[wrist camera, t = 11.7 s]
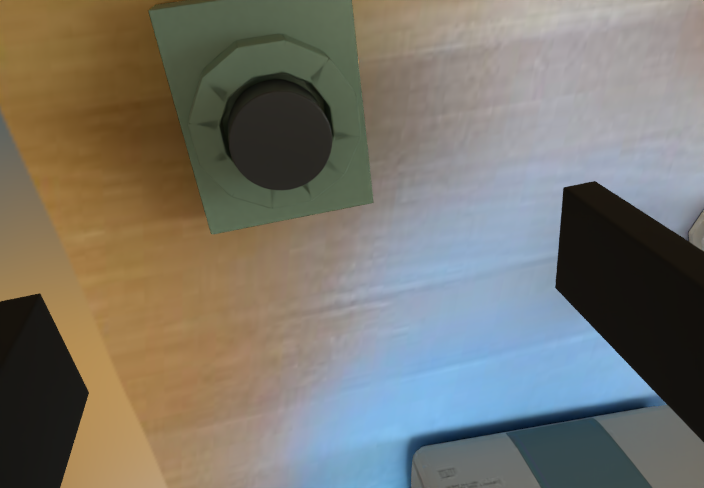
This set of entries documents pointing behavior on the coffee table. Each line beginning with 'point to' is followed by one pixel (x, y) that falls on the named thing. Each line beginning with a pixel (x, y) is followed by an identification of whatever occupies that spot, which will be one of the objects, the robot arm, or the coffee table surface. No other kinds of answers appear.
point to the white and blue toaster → (571, 455)
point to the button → (279, 135)
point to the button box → (249, 69)
